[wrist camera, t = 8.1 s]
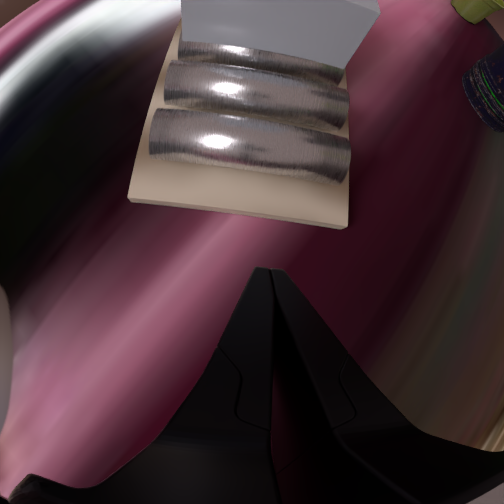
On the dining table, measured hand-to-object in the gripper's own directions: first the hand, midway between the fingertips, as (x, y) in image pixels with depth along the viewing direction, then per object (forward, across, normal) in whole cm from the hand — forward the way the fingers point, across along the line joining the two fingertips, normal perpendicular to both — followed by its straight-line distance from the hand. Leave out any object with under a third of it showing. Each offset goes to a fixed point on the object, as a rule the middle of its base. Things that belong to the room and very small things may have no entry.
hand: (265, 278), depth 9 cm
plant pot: (+45, -35, -27) cm, 63 cm away
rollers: (+20, 0, -3) cm, 20 cm away
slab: (+20, 0, -9) cm, 22 cm away
